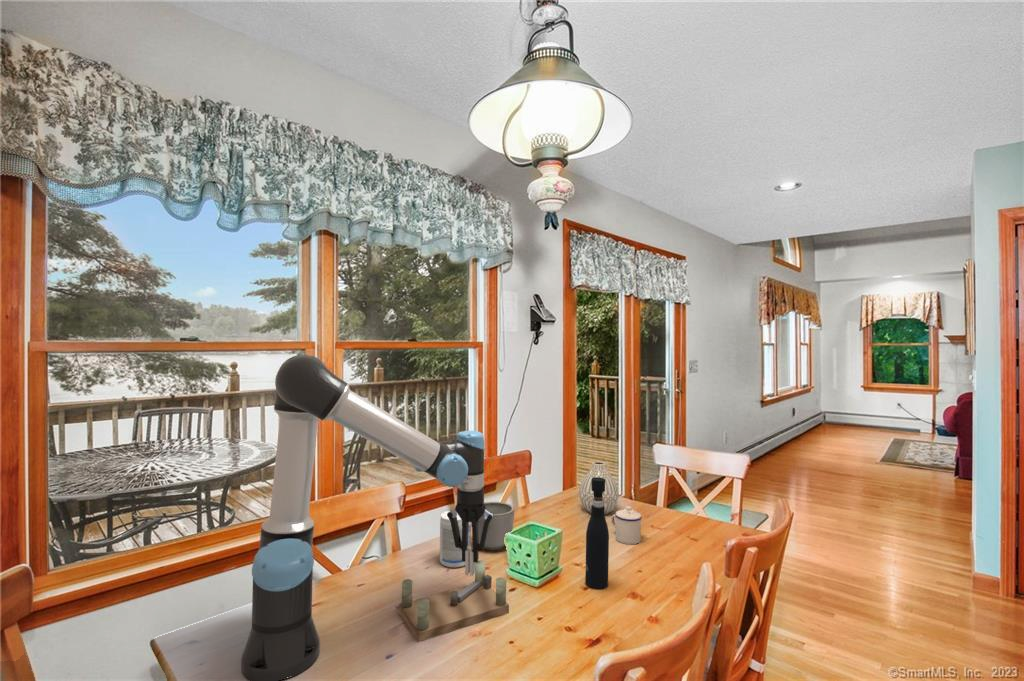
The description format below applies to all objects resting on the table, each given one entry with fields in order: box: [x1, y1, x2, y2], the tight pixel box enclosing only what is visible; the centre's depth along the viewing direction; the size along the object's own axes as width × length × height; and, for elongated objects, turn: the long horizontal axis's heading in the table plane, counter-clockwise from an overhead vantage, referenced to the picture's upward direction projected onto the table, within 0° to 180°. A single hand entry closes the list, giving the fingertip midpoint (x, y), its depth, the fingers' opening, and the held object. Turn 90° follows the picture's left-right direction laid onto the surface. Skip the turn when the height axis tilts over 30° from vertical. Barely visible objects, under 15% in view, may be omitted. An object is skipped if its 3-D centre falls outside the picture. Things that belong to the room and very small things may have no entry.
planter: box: [478, 501, 515, 552], centre depth 164 cm, size 14×14×13 cm
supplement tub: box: [439, 510, 472, 569], centre depth 152 cm, size 10×10×15 cm
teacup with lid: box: [610, 505, 643, 545], centre depth 172 cm, size 12×9×12 cm
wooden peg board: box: [398, 574, 510, 642], centre depth 123 cm, size 24×14×8 cm, turn 122°
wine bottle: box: [584, 477, 610, 590], centre depth 139 cm, size 6×6×30 cm
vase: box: [578, 460, 619, 516], centre depth 200 cm, size 16×16×20 cm
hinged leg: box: [458, 560, 486, 601], centre depth 130 cm, size 12×3×6 cm, turn 150°
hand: (470, 573), depth 135 cm, fingers closed
